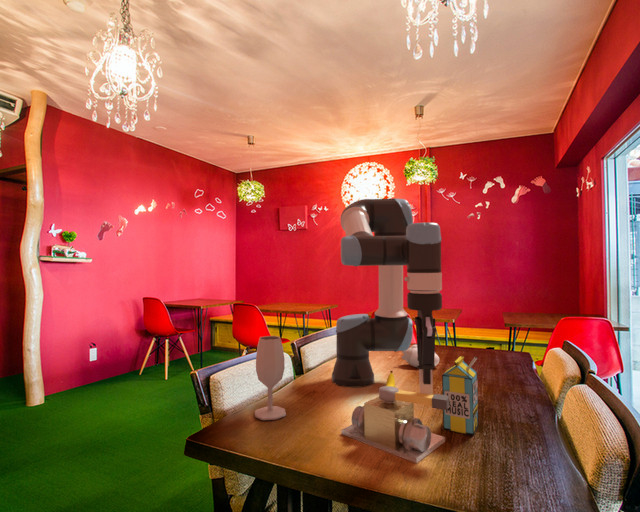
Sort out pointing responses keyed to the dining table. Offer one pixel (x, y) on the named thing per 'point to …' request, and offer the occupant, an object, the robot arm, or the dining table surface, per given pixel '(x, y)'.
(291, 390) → the dining table surface
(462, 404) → the carton
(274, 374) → the wineglass
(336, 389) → the dining table surface
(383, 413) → the valve body
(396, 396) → the lever
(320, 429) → the dining table surface
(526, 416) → the dining table surface
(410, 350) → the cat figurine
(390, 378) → the banana
